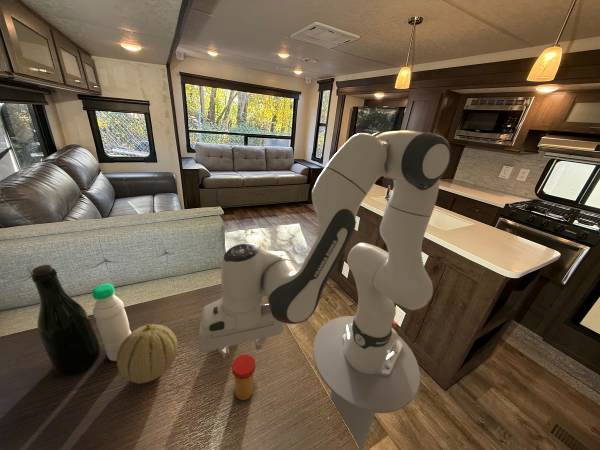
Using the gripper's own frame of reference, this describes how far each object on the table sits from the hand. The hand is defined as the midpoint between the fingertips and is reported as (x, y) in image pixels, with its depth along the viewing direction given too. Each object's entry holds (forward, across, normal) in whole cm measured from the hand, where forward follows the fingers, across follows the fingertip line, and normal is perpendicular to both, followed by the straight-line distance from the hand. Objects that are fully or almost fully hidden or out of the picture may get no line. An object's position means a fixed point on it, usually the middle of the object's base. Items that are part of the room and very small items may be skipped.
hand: (242, 351), depth 63 cm
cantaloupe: (+16, +24, -14) cm, 33 cm away
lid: (+5, 0, 0) cm, 5 cm away
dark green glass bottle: (+16, +45, -24) cm, 53 cm away
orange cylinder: (+16, 0, 0) cm, 16 cm away
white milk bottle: (+16, +34, -24) cm, 44 cm away
